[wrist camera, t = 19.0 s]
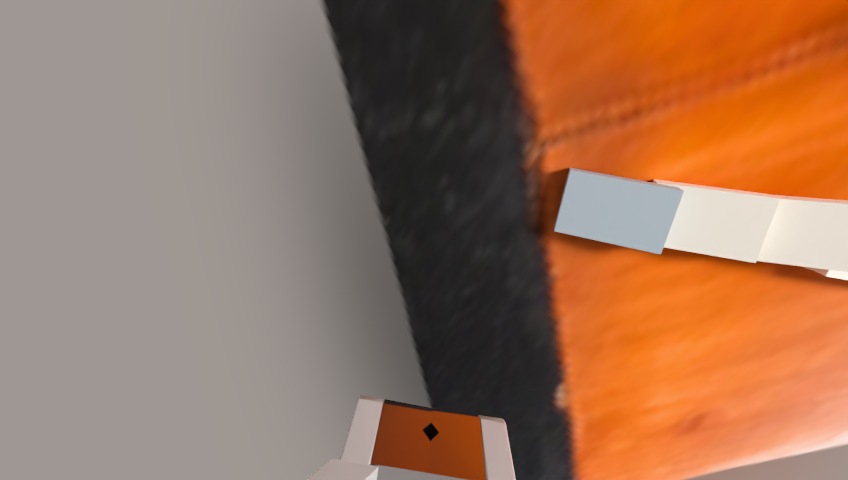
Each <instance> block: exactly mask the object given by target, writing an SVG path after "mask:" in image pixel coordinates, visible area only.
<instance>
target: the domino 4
mask: <svg viewBox="0 0 848 480" xmlns="http://www.w3.org/2000/svg"><path fill="white" fill-rule="evenodd" d="M809 269H811V270H813V271H815V272H817V273H819V274H821V275H823V276H825V277H831V278H837V279H843V280H848V272H843V271H835V270H827V269H819V268H810V267H809Z"/></svg>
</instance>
